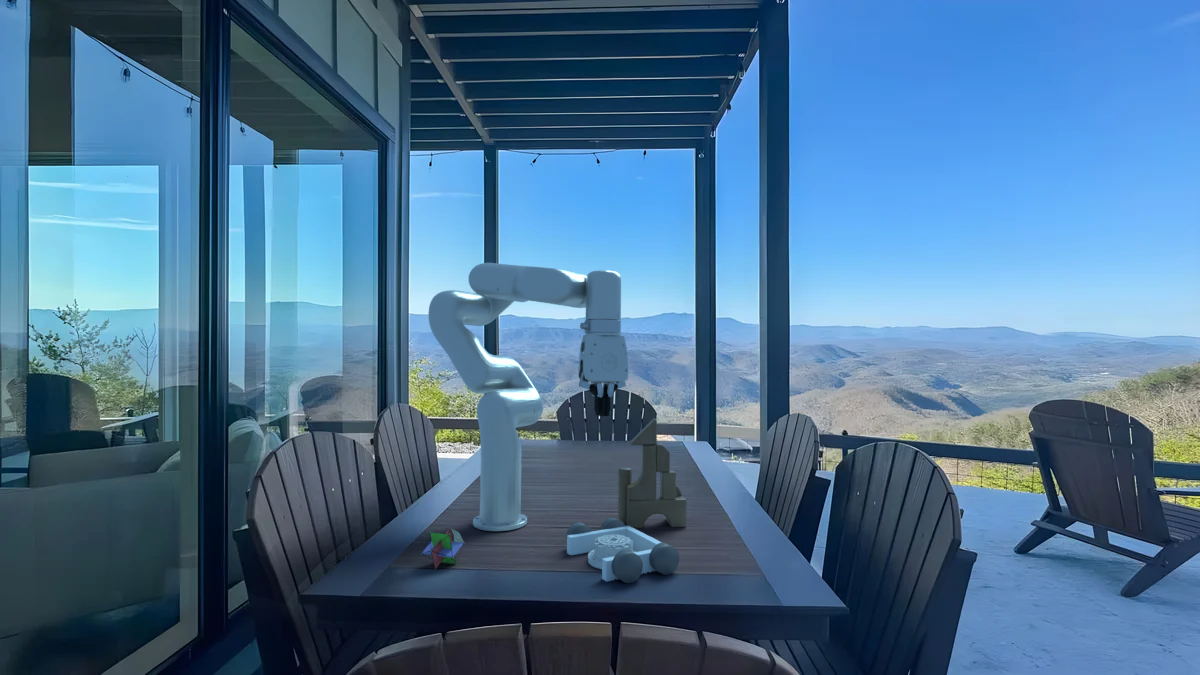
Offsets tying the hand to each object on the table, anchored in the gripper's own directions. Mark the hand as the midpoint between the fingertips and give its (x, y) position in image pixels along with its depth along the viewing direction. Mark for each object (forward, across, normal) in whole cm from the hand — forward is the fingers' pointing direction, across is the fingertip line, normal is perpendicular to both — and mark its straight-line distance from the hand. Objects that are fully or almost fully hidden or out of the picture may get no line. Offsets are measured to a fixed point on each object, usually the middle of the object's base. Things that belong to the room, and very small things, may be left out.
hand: (602, 415), depth 116 cm
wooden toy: (+27, +18, +8) cm, 34 cm away
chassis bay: (+27, -2, -9) cm, 29 cm away
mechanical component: (+28, -2, -9) cm, 29 cm away
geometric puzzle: (+27, -32, +4) cm, 42 cm away
